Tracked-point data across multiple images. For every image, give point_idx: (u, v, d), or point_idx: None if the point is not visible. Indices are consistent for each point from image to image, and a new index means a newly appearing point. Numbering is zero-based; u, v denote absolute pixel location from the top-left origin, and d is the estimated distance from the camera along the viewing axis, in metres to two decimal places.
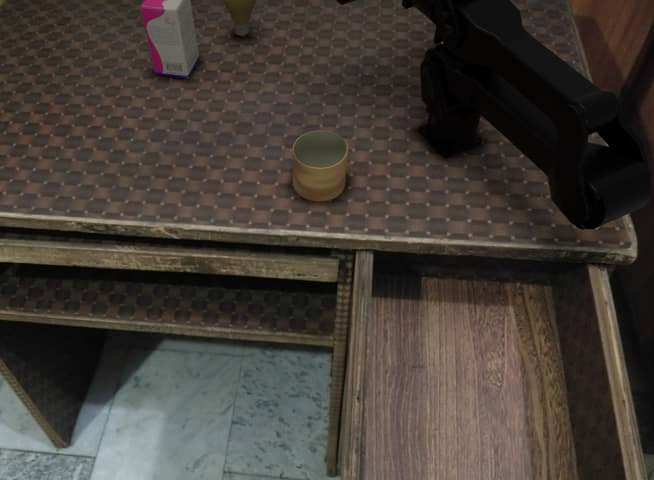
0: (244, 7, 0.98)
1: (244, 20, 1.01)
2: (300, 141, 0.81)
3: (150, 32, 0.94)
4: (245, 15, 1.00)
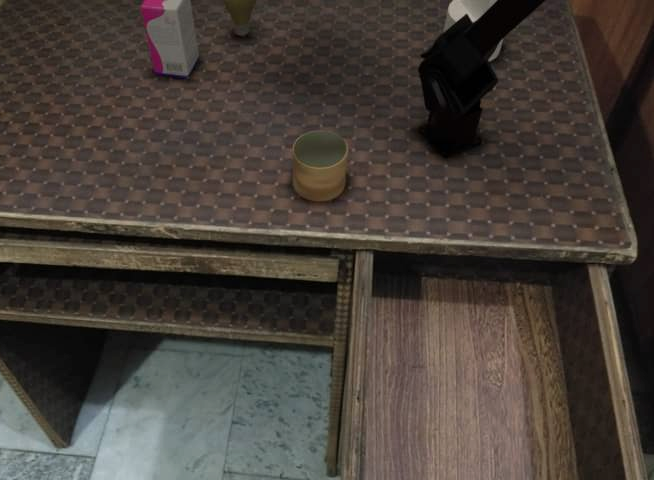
0: (244, 7, 0.98)
1: (244, 20, 1.01)
2: (300, 141, 0.81)
3: (150, 32, 0.94)
4: (245, 15, 1.00)
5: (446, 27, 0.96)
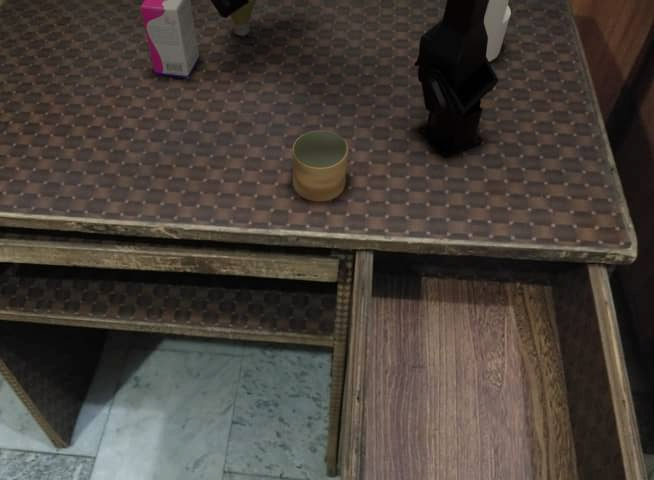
0: (244, 7, 0.98)
1: (244, 20, 1.01)
2: (300, 141, 0.81)
3: (150, 32, 0.94)
4: (245, 15, 1.00)
5: None
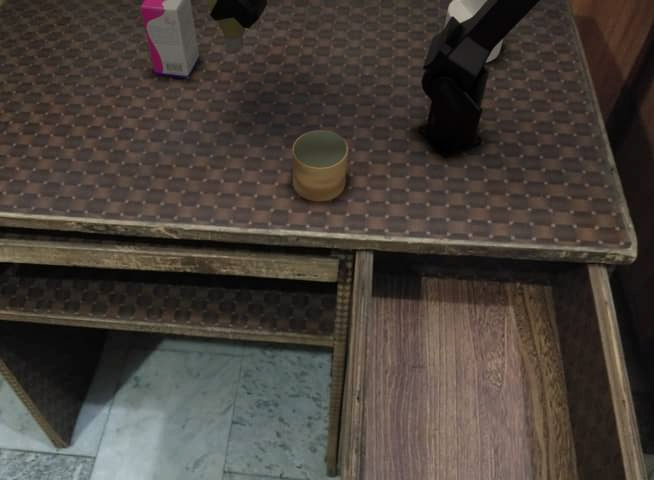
0: None
1: (241, 31, 0.85)
2: (300, 141, 0.81)
3: (150, 32, 0.94)
4: None
5: None
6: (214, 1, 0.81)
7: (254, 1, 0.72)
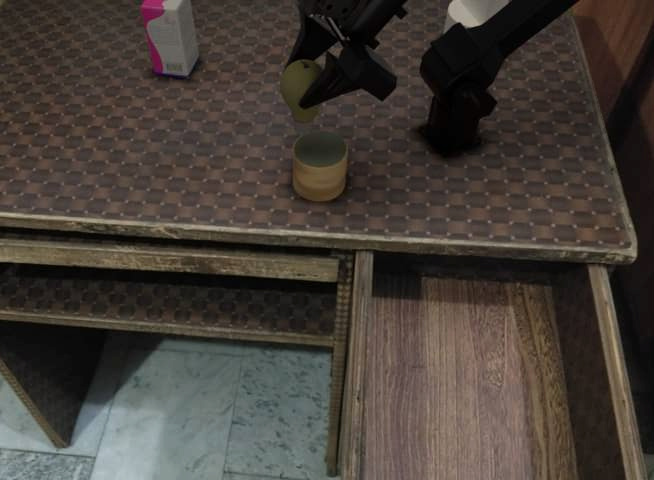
0: None
1: (317, 110, 0.77)
2: (300, 141, 0.81)
3: (150, 32, 0.94)
4: None
5: (446, 27, 0.96)
6: (300, 90, 0.72)
7: (390, 71, 0.66)
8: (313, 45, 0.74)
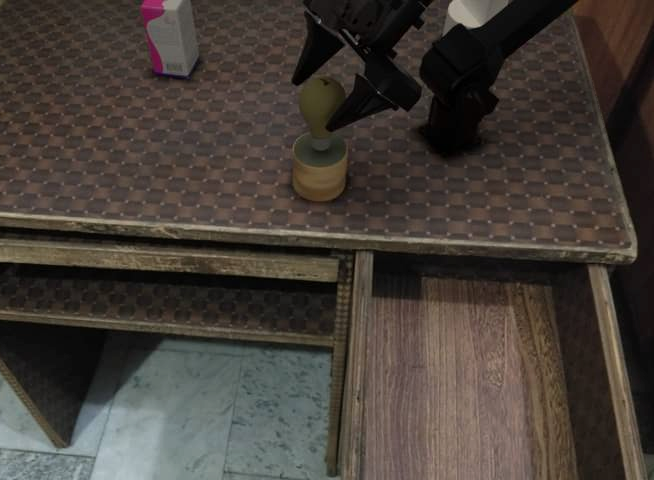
0: None
1: None
2: (300, 141, 0.81)
3: (150, 32, 0.94)
4: None
5: (446, 27, 0.96)
6: (322, 107, 0.72)
7: (415, 81, 0.66)
8: (321, 51, 0.74)
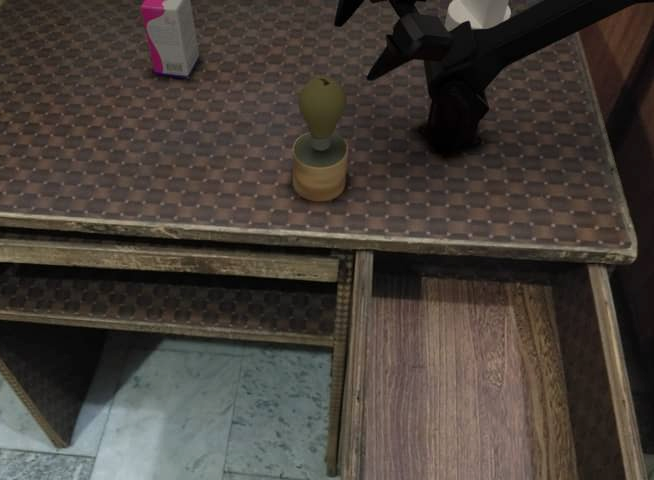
0: (345, 107, 0.74)
1: None
2: (300, 141, 0.81)
3: (150, 32, 0.94)
4: None
5: (446, 27, 0.96)
6: (322, 107, 0.72)
7: (444, 33, 0.68)
8: None
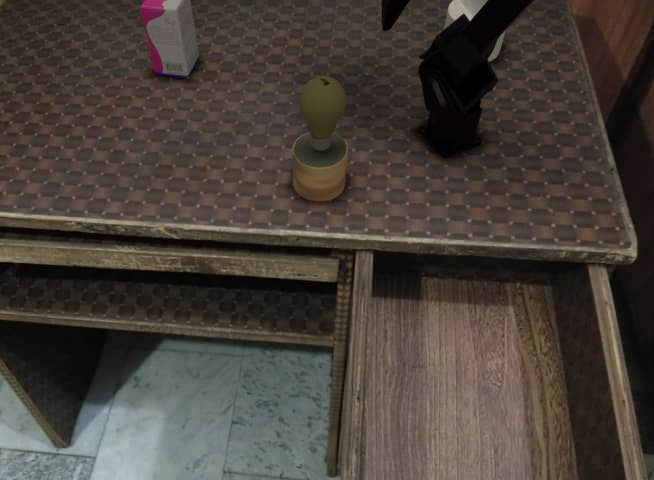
0: (345, 107, 0.74)
1: None
2: (300, 141, 0.81)
3: (150, 32, 0.94)
4: None
5: (446, 27, 0.96)
6: (322, 107, 0.72)
7: None
8: None
